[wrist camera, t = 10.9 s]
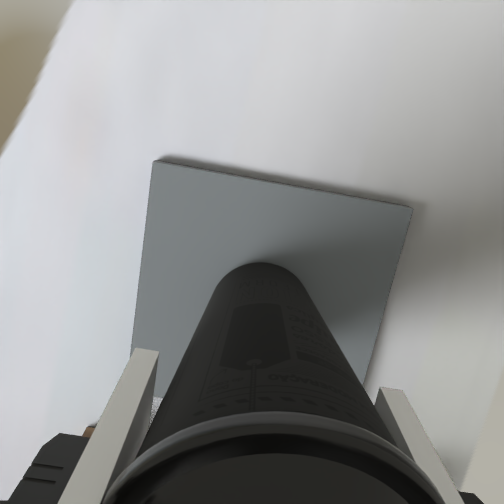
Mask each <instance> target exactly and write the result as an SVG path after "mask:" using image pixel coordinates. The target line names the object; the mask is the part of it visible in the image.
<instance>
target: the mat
mask: <svg viewBox="0 0 504 504" xmlns="http://www.w3.org/2000/svg"><path fill="white" fill-rule="evenodd" d="M412 212H413V208H411V207H409V206H404V205H398V204H393V203H387V202H382V201H376V200H371V199H365V198H360V197H354V196H349V195H343V194H338V193H332V192H327V191H321V190H316V189H310V188H305V187H299V186H294V185H288V184H283V183H277V182H272V181H266V180H261V179H255V178H250V177H244V176H239V175H233V174H228V173H222V172H217V171H211V170H206V169H200V168H195V167H189V166H184V165H178V164H173V163H167V162H162V161H156V160H155V161H153V164H152V173H151V181H150V190H149V198H148V207H147V216H146V224H145V233H144V241H143V250H142V258H141V267H140V276H139V284H138V293H137V301H136V310H135V319H134V327H133V336H132V344H131V353H130V358H131V356H132V354H133V352H134V350H135V348H141V349H147V350H153V351H159V358H158V365H157V373H156V380H155V387H154V395H153V396H154V397H160V398H164V396H165V394H166V392H167V390H168V387H169V385H170V383H171V381H172V379H173V377H174V375H175V373H176V370H177V368H178V366H179V364H180V362H181V360H182V358H183V356H184V353H185V351H186V349H187V347H188V345H189V343H190V341H191V339H192V336H193V334H194V332H195V330H196V328H197V326H198V324H199V322H200V319H201V317H202V315H203V313H204V311H205V309H206V307H207V305H208V302H209V300H210V298H211V296H212V294H213V292H214V290H215V288H216V286H217V285H218V283H219V282H220V281H221V279H222V278H223V277H224V276H225V275H226V274H228V273H229V272H230V271H232V270H234V269H235V268H237V267H240V266H242V265H245V264H249V263H256V262H265V263H272V264H275V265H278V266H281V267H283V268H285V269H287V270H289V271H290V272H291V273H293V274H294V275H295V276H296V277H297V278H298V279H299V280H300V281H301V283H302V284H303V286H304V287H305V289H306V291H307V292H308V294H309V296H310V297H311V299H312V301H313V303H314V304H315V306H316V308H317V309H318V311H319V313H320V315H321V316H322V318H323V320H324V321H325V323H326V325H327V326H328V328H329V330H330V332H331V333H332V335H333V337H334V338H335V340H336V342H337V344H338V345H339V347H340V349H341V350H342V352H343V354H344V355H345V357H346V359H347V361H348V362H349V364H350V366H351V367H352V369H353V371H354V373H355V374H356V376H357V378H358V379H359V381H360V383H361V384H362V386H363V383H364V379H365V376H366V372H367V369H368V365H369V362H370V358H371V355H372V351H373V348H374V344H375V341H376V337H377V334H378V330H379V327H380V323H381V320H382V316H383V313H384V310H385V306H386V303H387V299H388V296H389V292H390V289H391V285H392V282H393V278H394V275H395V271H396V268H397V264H398V261H399V257H400V254H401V250H402V247H403V243H404V240H405V236H406V233H407V230H408V226H409V223H410V219H411V216H412Z"/></svg>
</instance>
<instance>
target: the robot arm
mask: <svg viewBox="0 0 504 504" xmlns="http://www.w3.org/2000/svg"><path fill="white" fill-rule="evenodd" d="M158 358H159V351H153V350H147V349H141V348H135V350H134V352H133V354H132V356H131V358H130V360H129V362H128V364H127V366H126V368H125V370H124V372H123V374H122V376H121V378H120V380H119V382H118V384H117V386H116V388H115V390H114V392H113V394H112V396H111V398H110V400H109V402H108V404H107V406H106V408H105V410H104V412H103V414H102V416H101V418H100V420H99V422H98V424H97V426H96V428H95V430H94V432H93V434H92V436H91V438H89V437H82V436H76V435H69V434H62V433H59V434H58V435H57V436H55V437H54V438H53V439H51V440H50V441H49V442H47V443H46V444H45V445H43V446H42V448H41V449H40V451H39V452H38V454H37V456H36V457H35V459H34V460H33V462H32V465H31V466H30V467H29V468H28V470H27V471H26V473H25V475H24V476H23V479H22V480H21V481H20V482H19V484H18V486H17V487H16V489H15V490H14V492H13V494H12V495H11V497H10V498H9V500H8V501H0V504H101V502H102V500H103V497H104V495H105V494H106V492H107V491H108V489H109V488H110V486H111V485H112V484H113V482H114V481H115V480H116V479H117V478H118V476H119V475H120V474H121V473H122V472H123V471H124V470H125V469H126V468H127V467H128V466H129V465H130V464H131V463H132V462H133V461H134V460H135V458H136V455H137V453H138V451H139V449H140V447H141V445H142V443H143V441H144V438H145V436H146V433H147V430H148V427H149V424H150V416H151V409H152V402H153V395H154V387H155V380H156V373H157V365H158ZM374 407H375V408H376V410H377V412H378V413H379V415H380V417H381V419H382V420H383V422H384V424H385V425H386V427H387V429H388V431H389V432H390V434H391V436H392V437H393V439H394V441H395V442H396V444H397V446H398V448H399V449H400V450H401V451H402V452H403V453H405V454H406V455H407V456H408V457H409V458H410V459H412V460H413V461H414V462H415V463H416V464H417V465H418V466H419V467H420V468H421V469H422V470H423V471H424V472H425V473H426V474H427V476H428V477H429V478H430V480H431V481H432V482H433V483H434V485H435V486H436V488H437V489H438V491H439V493H440V494H441V496H442V498H443V500H444V501H445V503H446V504H484V503H483V502H482V501H481V500H480V499H479V498H478V497H477V496H476V495H475V494H473V493H466V492H459V491H457V489H456V487H455V485H454V483H453V482H452V480H451V478H450V476H449V474H448V472H447V471H446V469H445V467H444V465H443V463H442V461H441V460H440V458H439V456H438V454H437V452H436V450H435V449H434V447H433V445H432V443H431V441H430V440H429V438H428V436H427V434H426V432H425V430H424V429H423V427H422V425H421V423H420V421H419V419H418V418H417V416H416V414H415V412H414V410H413V408H412V407H411V405H410V403H409V401H408V399H407V397H406V396H405V394H404V392H403V390H397V389H390V388H384V387H380V389H379V392H378V395H377V399H376V402H375V405H374Z"/></svg>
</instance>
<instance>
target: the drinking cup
mask: <svg viewBox="0 0 504 504" xmlns="http://www.w3.org/2000/svg"><path fill="white" fill-rule="evenodd" d="M101 504H446V503H445V501H444V500H443V498H442V496H441V494H440V493H439V491H438V489H437V488H436V486H435V485H434V483H433V482H432V481H431V480H430V478H429V477H428V476H427V474H426V473H425V472H424V471H423V470H422V469H421V468H420V467H419V466H418V465H417V464H416V463H415V462H414V461H413V460H412V459H410V458H409V457H408V456H407V455H406V454H405V453H403V452H402V451H401V450H400V449H399V448H398V446H397V444H396V442H395V441H394V439H393V437H392V436H391V434H390V432H389V431H388V429H387V427H386V425H385V424H384V422H383V420H382V419H381V417H380V415H379V413H378V412H377V410H376V408H375V407H374V405H373V403H372V402H371V400H370V398H369V396H368V395H367V393H366V391H365V390H364V388H363V386H362V384H361V383H360V381H359V379H358V378H357V376H356V374H355V373H354V371H353V369H352V367H351V366H350V364H349V362H348V361H347V359H346V357H345V355H344V354H343V352H342V350H341V349H340V347H339V345H338V344H337V342H336V340H335V338H334V337H333V335H332V333H331V332H330V330H329V328H328V326H327V325H326V323H325V321H324V320H323V318H322V316H321V315H320V313H319V311H318V309H317V308H316V306H315V304H314V303H313V301H312V299H311V297H310V296H309V294H308V292H307V291H306V289H305V287H304V286H303V284H302V283H301V281H300V280H299V279H298V278H297V277H296V276H295V275H294V274H293V273H291V272H290V271H289V270H287V269H285V268H283V267H281V266H278V265H275V264H272V263H265V262H256V263H249V264H245V265H242V266H240V267H237V268H235V269H234V270H232V271H230V272H229V273H228V274H226V275H225V276H224V277H223V278H222V279H221V281H220V282H219V283H218V285H217V286H216V288H215V290H214V292H213V294H212V296H211V298H210V300H209V302H208V305H207V307H206V309H205V311H204V313H203V315H202V317H201V319H200V322H199V324H198V326H197V328H196V330H195V332H194V334H193V336H192V339H191V341H190V343H189V345H188V347H187V349H186V351H185V353H184V356H183V358H182V360H181V362H180V364H179V366H178V368H177V370H176V373H175V375H174V377H173V379H172V381H171V383H170V385H169V387H168V390H167V392H166V394H165V396H164V398H163V400H162V402H161V404H160V407H159V409H158V411H157V413H156V415H155V417H154V419H153V421H152V424H151V426H150V428H149V430H148V432H147V434H146V436H145V438H144V441H143V443H142V445H141V447H140V449H139V451H138V453H137V455H136V458H135V460H134V461H133V462H132V463H131V464H130V465H129V466H128V467H127V468H126V469H125V470H124V471H123V472H122V473H121V474H120V475H119V476H118V478H117V479H116V480H115V481H114V482H113V484H112V485H111V486H110V488H109V489H108V491H107V492H106V494H105V495H104V497H103V500H102V502H101Z"/></svg>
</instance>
